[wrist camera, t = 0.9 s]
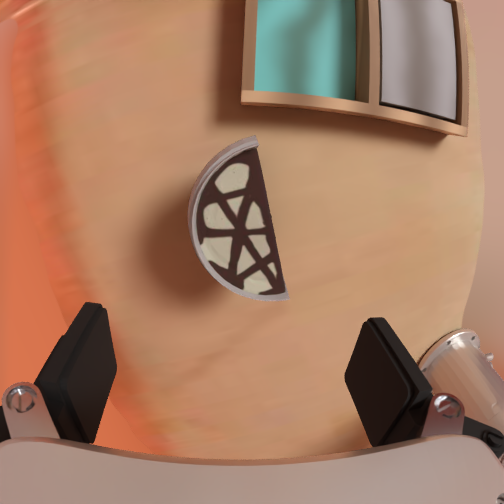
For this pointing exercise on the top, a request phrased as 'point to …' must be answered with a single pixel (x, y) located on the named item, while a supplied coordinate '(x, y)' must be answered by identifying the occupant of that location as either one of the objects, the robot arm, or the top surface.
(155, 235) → the top surface
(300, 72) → the compartment tray
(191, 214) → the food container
